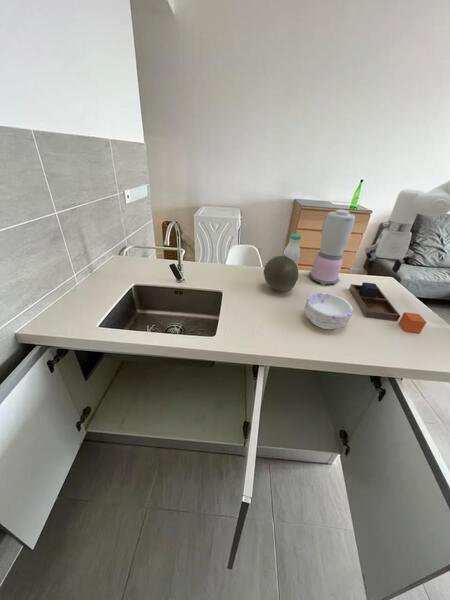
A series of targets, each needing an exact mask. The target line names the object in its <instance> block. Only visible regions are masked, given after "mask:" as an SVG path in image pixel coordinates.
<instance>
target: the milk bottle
mask: <svg viewBox="0 0 450 600" xmlns="http://www.w3.org/2000/svg"><path fill="white" fill-rule="evenodd" d="M301 237H302V236H301V235H300V234H298V233H291V234H290V236H289V242H288V243H287V245H286V246H285V249H284V250H283V255H282V256H285V257H288V258H290V259H292V260H293V261H294V262H295V263H296V265H297V268H298V267H299V263H300V258H301V247H300V241H301Z"/></svg>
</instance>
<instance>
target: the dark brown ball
mask: <svg viewBox="0 0 450 600" xmlns="http://www.w3.org/2000/svg"><path fill="white" fill-rule="evenodd" d="M263 276H264V280H265V282H266V283H267V285H268V286H270V288H271V289H273V290H275V291H279V292H287V291H290V290H292V289H293V288H294V287H295V286H296V284H297V282H298V279H299V269H298V267H297V265H296V263H295V262H294V261H293V260H292V259H290V258H288V257H285V256H283V255H277V256H274V257H272V258H270V259H269V260H268V261H267V262H266V263H265V265H264V268H263Z"/></svg>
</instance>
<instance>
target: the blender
mask: <svg viewBox="0 0 450 600" xmlns="http://www.w3.org/2000/svg"><path fill="white" fill-rule="evenodd" d="M355 220H356V215H355V214H353V213H350V211H349V210H346V209H336V210H335V211H329V212H328V213H327V215H326V216H325V217H324V220H323V224H322V228H321V233H320V234H321V238H320V248H319V252H318V253H317V254H316V255H315V257H314V259H313V264H312V266H311V267H312V268H311V272H310V276H309V277H310V278H311V279H312V280H314V281H315V282H318V283H320V286H324V287H325V286H327V285H334V286H335V285H336V284H337V283H338V279H339V275H340V272H341V269H342V266H343V258H342V257H343V253H344V251H345V249H346V247H347V245H348V243H349V241H350V238H351V236H352V235H351V234H352V232H353V229H354V224H355Z"/></svg>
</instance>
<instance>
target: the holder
mask: <svg viewBox="0 0 450 600" xmlns="http://www.w3.org/2000/svg"><path fill="white" fill-rule="evenodd" d="M361 286H362V284H355V283H351V284H350V285H349V288H348V290H349V292H350V293H351V295H352V297H353V299H354V301H355V302H356V304H357V306H358V307H359V309H360V311H361V313H362V314H363V317H364V318H368V319H369V318H370V319H377V320H386V321H392V322H393V321H394V322H399V320H400V317H401V314H400V313H399V312H398V311H397V309H396V308H395V306H393V304H392V303H391V302H390V300H389V299H388V298H387V296H386V295H385V294H384V293H383V291H382V290H381V289H380V288H379V291H378V294H377V296H376V298H371V297H363V296H361V294H360V293H359V291H360V289H361Z"/></svg>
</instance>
